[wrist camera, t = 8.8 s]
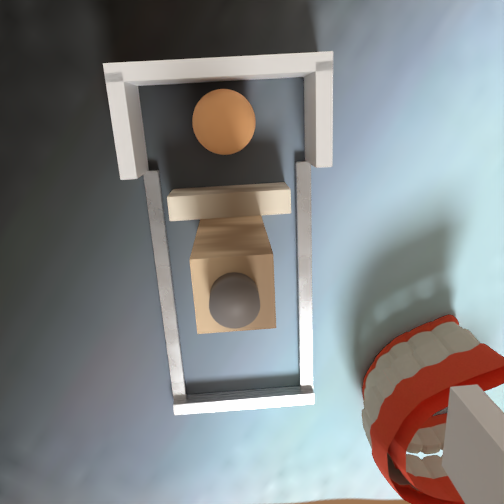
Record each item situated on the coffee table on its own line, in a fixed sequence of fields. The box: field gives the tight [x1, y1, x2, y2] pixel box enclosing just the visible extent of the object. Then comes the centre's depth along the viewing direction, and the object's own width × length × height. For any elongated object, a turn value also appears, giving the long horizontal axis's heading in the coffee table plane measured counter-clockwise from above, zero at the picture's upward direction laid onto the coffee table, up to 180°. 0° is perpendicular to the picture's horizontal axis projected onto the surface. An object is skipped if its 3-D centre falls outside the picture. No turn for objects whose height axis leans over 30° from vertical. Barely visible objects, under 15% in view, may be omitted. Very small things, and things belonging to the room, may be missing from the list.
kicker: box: [167, 182, 291, 334], centre depth 25 cm, size 8×6×12 cm
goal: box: [103, 51, 333, 180], centre depth 27 cm, size 13×6×4 cm, turn 93°
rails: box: [143, 161, 314, 415], centre depth 32 cm, size 12×20×1 cm, turn 3°
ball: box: [192, 89, 255, 155], centre depth 27 cm, size 4×4×4 cm
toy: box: [362, 315, 504, 504], centre depth 33 cm, size 12×10×8 cm
